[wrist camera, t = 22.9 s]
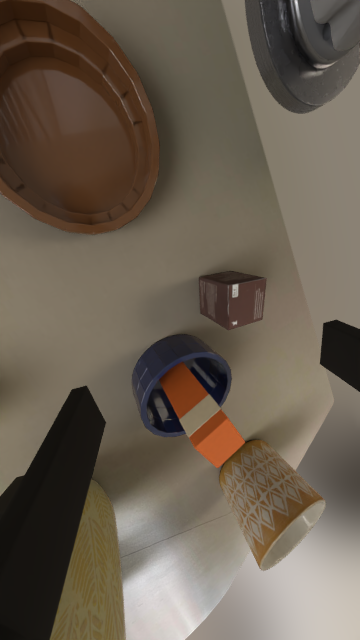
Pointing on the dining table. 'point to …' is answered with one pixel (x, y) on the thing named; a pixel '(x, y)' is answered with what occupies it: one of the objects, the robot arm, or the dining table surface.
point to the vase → (93, 577)
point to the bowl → (72, 120)
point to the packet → (201, 416)
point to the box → (232, 298)
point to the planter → (269, 501)
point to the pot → (163, 358)
